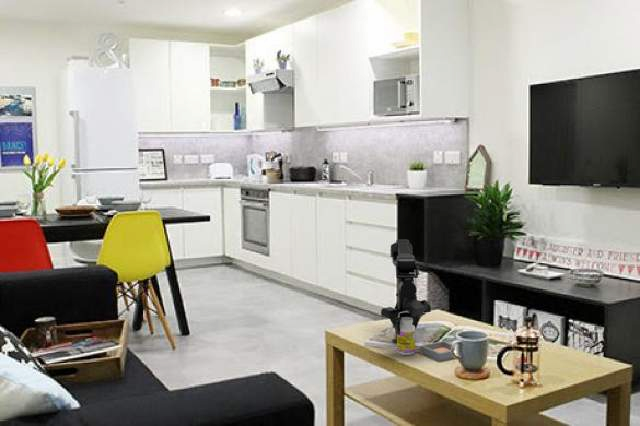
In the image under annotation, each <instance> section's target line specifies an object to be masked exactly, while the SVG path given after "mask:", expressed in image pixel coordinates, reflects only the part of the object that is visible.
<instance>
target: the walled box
mask: <svg viewBox="0 0 640 426" xmlns="http://www.w3.org/2000/svg"><path fill="white" fill-rule="evenodd" d="M452 344H453V343H452V342H451V343H450V342H449V341H445V340H441V341H437V342H436V341H435V342H432V343H427V344H422V345H420V348H419V349H420V350H419V353H420V354H421V355H422V356H425V357H427V358H429V359H431V360H433V361H435V362H438V363H443V362H447V361H452V360H456V359H455V358H454V357H453V356H452V354H451V351H450V350H451V346H452Z"/></svg>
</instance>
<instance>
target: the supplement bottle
mask: <svg viewBox="0 0 640 426" xmlns="http://www.w3.org/2000/svg"><path fill="white" fill-rule="evenodd" d="M412 323H413V319H412V318H410V317H402V319H401V321H400V334H399V335H398V334H397V343H396V352H397V353H398V354H399V355H402V356H411V355H414V354H415V352H416V330H415V326H414V325H412Z"/></svg>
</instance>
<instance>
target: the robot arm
mask: <svg viewBox="0 0 640 426" xmlns="http://www.w3.org/2000/svg"><path fill="white" fill-rule="evenodd" d="M389 250H390V251H389V252H390V253H389V254H390V258H391V261H392V264H393V265H394V267H395V277H396V285H397V290H396V291H397V292H396V294H395V296H396V297H397V302H396V304H395V306H394V307H391V306H389V307H383V308H381V310H380V316H381V317H384V318H386V319H389V320H390V322H391V324H392V328H393V329H394V330H395V332H394V333H395V338H392V342H394V343H396V344H397V334H398V335H399V334H400V321H401V319H402V317H410V318H412V319H413V323H412V325H414V326H415V331H416V330H417V328H418V325H419V322H420V320H421V318H422V317H423V316H425V315H426V313H427V314H428V313H431V311H432V306H431V305H430V303H429V302H428V300H426V299H421V300H418V296H417V291H418V290H417V286H416V283H415V279H418V278H419V276H420V267H419V266H420V265H419V262H418V260H417V259H416V258H415V255H413V244H412V243H410V240H409V239H396V240H395V242H394V243H392V244H391V245H390V249H389Z"/></svg>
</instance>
